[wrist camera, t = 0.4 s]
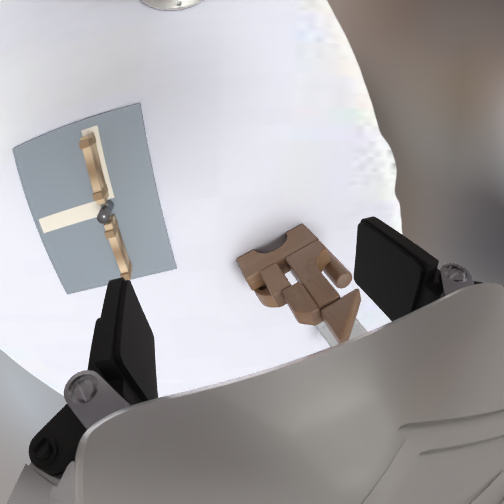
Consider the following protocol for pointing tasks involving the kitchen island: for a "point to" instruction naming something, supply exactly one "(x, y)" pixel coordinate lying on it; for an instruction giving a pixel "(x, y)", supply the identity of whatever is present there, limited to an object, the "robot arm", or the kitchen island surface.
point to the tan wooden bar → (118, 247)
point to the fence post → (105, 212)
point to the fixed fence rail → (94, 168)
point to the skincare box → (330, 339)
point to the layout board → (86, 209)
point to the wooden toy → (304, 282)
